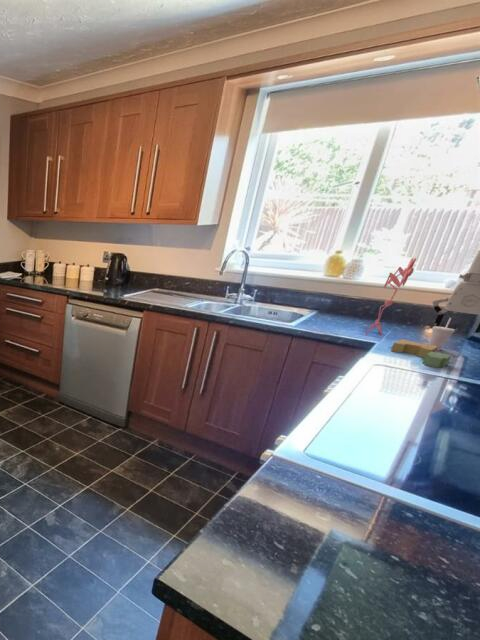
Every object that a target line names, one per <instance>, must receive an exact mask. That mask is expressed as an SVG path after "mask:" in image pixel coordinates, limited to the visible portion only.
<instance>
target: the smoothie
mask: <svg viewBox="0 0 480 640" xmlns="http://www.w3.org/2000/svg"><path fill="white" fill-rule="evenodd" d="M451 320H452V317H449V318H448V321H447V323H446V324H445V326H436V325H434V326H432V328H431V330H432V331H431V334H430V338H429V341H428V344H429V345H434V346H438V348H437V350H436V351H442V349H443V348H444V346H445V345H446V343H447V342H448V340H449V339H450V338H451V336H452V335H453V333H455V331H456V330H455V329H454V328H451V327H449V325H450V323H451Z"/></svg>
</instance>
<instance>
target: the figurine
mask: <svg viewBox="0 0 480 640" xmlns="http://www.w3.org/2000/svg"><path fill="white" fill-rule="evenodd" d="M416 260H417V257H416V258H414V257H412V258H410V260H409V262H408V264H407V266H406V267H404V269H403V268H402V266H399V267H398V268H397V270H396V271H395V272H394V273H392V272H389V274H388V277H387V278H386V281H385V284H384V286H383V288H387V286H388V285H390V286H391V287H392V288H394V292H393V295H392V296H391V298H390V299H386V300H385V301H384V304H383V305H380V307H379V310H378V317H377V319H375V320H374V323H372V324H371V325H370V326H369V327H367V329H366V330H365V332H364V334H362V336H364V335H367V334H368V333H369V332H370V331H372V330H373V329H374V328H375V327H376V329H377V331H378V333H379V335H380V336H381V337H383V332H382V329H383V328H382V324H381V322H380V320H381V317H382V315H383V311H384V309H386V308H387V307H389V306H391V305H393V304H394V301H393V299H394V296H395V295H396V294H397V292H398V288H400V287H401V286H402V287H404V286H405V284H406V283H407V281H408V278H409V277H411V276H412V274H413V273H414V270H415V269H414V265H415V263H416ZM397 273H398V274H397ZM399 276H401V277H402V278H401V279H400V280H399ZM391 282H392V283H393V284H394V285H393V284H392V283H391ZM395 285H396V286H395ZM397 287H398V288H397ZM382 307H383V308H382ZM391 333H393V334H395V335H396V334H398V333H397V332H395V331H394V332H393V331H392V332H391ZM399 335H400V336H403V337H404V338H402V340H406V336H405V335H404V334H402V333H401V334H400V333H399Z"/></svg>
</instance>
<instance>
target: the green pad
mask: <svg viewBox="0 0 480 640" xmlns="http://www.w3.org/2000/svg"><path fill="white" fill-rule="evenodd" d="M452 356H453V355H451V354H446V353H441V352H438V351H436V352H432V351H431V352H429V353H428V354H426V356H425V358H423V361H422V362H421V363H422V364H424V366H427V367H430V368H431V367H432V368H436V369H439V368H445V367H446V366H447V365H448V364H449V362H450V360H451V358H452Z"/></svg>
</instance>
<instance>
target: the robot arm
mask: <svg viewBox="0 0 480 640" xmlns="http://www.w3.org/2000/svg"><path fill="white" fill-rule="evenodd" d="M458 279H462V280H463V281H459V282H458V284H457V285H456V286H455V287H454V289H453V291H452V293H451V294H450V296H449V297H445V298H440V299H436V300H435V299H434V300H433V301H432V306H433V309H434V310H435V312H436V313H437V316H436V318H435V320H434V324H435V326H437V327H440V325H441V323H442V321H443V319H444V317H445V313H447V312H454V313H455V312H456V313H462V314H470V315H476V316H477V315H478V316H480V247H478V250H477V252H476V254H475V256H474V258H473V260H472V263H471V264H470V266H469V268H468V271H467V272H466V273H460V274H459V276H458ZM441 303H446V304H445V306H444V308H443V309H442V308H441V307H440V304H441ZM479 332H480V322H479V324H478V325H477V327H476V329H475V333H479Z"/></svg>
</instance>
